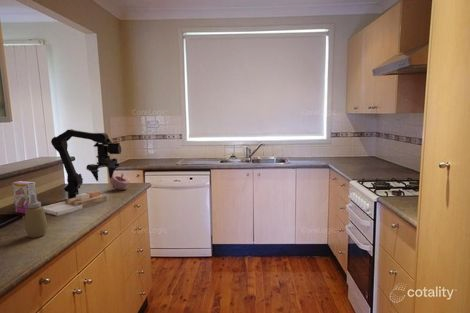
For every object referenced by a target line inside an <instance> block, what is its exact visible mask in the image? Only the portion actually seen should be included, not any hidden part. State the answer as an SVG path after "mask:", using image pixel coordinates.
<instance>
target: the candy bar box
mask: <svg viewBox="0 0 470 313" xmlns="http://www.w3.org/2000/svg"><path fill="white" fill-rule="evenodd" d="M11 184H12V186H11V187H12V193H13V202H14V212H15V213H17V214H24V215H25V211H26V209H27V208H28V203H30V202H31V196H32V194H35V196H36V199H37V200H38V196H37V195H38V194H37V184H36V182H33V181H25V180H19V181H14V182H12V183H11Z"/></svg>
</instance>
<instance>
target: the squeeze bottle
mask: <svg viewBox="0 0 470 313" xmlns="http://www.w3.org/2000/svg"><path fill="white" fill-rule="evenodd" d="M41 205H42V202H41V201H39V200H38V198H37V199H36V196H35V194H32V196H31V202H30V203H28V208H27V209H26V211H25V214H24V217H25V219H24V220H25V221H24V222H25V223H24V230H25V232H26V233H27V235H28V237H29V238H31V239H34V238H40V237H43V236H45V234H46V232H47V229H48V222H47V217H46V213H45V212H44V208H43V207H44V206H41Z"/></svg>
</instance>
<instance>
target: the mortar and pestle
mask: <svg viewBox="0 0 470 313" xmlns="http://www.w3.org/2000/svg"><path fill="white" fill-rule="evenodd" d="M110 185H111V188H113V189H114V190H116V191H123V190H125V189H127V187H128V186H129V185H130V179H128V178H127V177H125V176H124V174H123V173H121V175H120V174H113V175H112V178H110Z"/></svg>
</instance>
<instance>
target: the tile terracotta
mask: <svg viewBox="0 0 470 313" xmlns="http://www.w3.org/2000/svg"><path fill="white" fill-rule="evenodd" d="M86 194H89V197H92V198H93V197H96V196H100V195H101V191H98V190H91V191H87V192H86Z"/></svg>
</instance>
